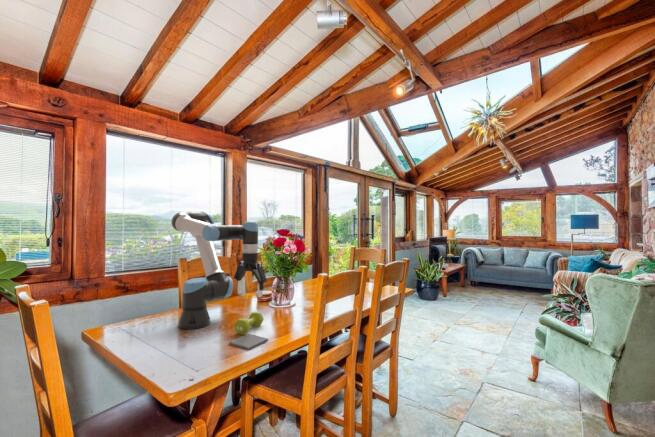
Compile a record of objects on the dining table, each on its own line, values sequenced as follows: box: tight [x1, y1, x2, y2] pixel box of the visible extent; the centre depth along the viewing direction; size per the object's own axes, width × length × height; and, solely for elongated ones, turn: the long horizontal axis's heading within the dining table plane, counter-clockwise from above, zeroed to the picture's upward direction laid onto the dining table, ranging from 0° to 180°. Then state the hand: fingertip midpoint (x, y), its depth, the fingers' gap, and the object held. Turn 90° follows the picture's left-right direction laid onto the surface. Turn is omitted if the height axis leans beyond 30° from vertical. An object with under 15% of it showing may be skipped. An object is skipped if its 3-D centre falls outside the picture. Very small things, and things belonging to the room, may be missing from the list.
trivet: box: [228, 333, 269, 351], centre depth 141 cm, size 12×12×1 cm
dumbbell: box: [233, 311, 264, 336], centre depth 157 cm, size 16×8×7 cm, turn 160°
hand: (249, 294), depth 157 cm, fingers open, 13 cm apart
